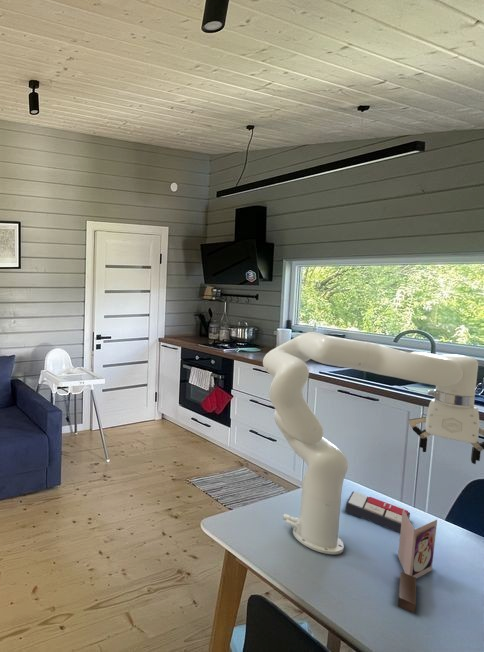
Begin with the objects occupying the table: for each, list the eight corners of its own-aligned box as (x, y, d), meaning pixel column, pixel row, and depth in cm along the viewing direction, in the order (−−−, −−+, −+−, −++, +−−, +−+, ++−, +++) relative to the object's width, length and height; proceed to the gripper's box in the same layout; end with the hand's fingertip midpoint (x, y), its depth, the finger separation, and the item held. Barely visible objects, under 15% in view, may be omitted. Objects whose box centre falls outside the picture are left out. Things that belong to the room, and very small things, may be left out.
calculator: (406, 524, 125) (346, 500, 136) (404, 536, 126) (344, 512, 137) (410, 510, 132) (353, 488, 143) (408, 522, 133) (351, 499, 144)
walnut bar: (397, 606, 99) (398, 597, 99) (399, 579, 108) (400, 571, 107) (414, 613, 97) (415, 604, 97) (415, 585, 106) (416, 577, 105)
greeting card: (413, 584, 106) (418, 531, 105) (379, 565, 113) (384, 515, 111) (435, 572, 110) (441, 521, 109) (401, 554, 117) (406, 506, 116)
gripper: (411, 394, 116) (405, 450, 118) (503, 409, 104) (496, 472, 105) (411, 388, 121) (406, 442, 123) (499, 402, 109) (492, 462, 111)
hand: (448, 456), depth 114 cm, fingers open, 9 cm apart
